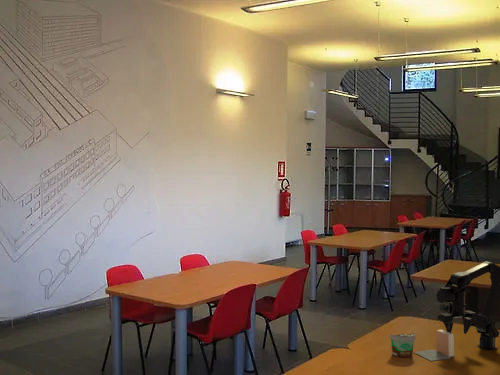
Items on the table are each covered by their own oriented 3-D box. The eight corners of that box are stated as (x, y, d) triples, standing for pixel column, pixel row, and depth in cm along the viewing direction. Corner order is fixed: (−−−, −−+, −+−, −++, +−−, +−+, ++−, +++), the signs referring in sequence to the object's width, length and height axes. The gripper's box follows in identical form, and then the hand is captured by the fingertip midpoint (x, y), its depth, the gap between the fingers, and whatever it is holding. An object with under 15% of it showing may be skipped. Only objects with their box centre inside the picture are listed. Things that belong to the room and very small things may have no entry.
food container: (396, 360, 241) (396, 337, 241) (389, 355, 247) (389, 333, 247) (420, 357, 245) (421, 335, 244) (413, 353, 250) (413, 331, 250)
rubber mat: (432, 350, 255) (432, 349, 255) (450, 358, 244) (450, 357, 244) (413, 352, 251) (413, 352, 251) (430, 361, 240) (430, 360, 240)
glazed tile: (441, 350, 254) (441, 329, 254) (453, 355, 247) (453, 334, 246) (436, 351, 253) (436, 330, 253) (448, 357, 246) (448, 335, 245)
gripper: (461, 296, 263) (460, 328, 263) (430, 298, 256) (429, 331, 257) (478, 301, 252) (477, 334, 253) (446, 304, 246) (445, 338, 246)
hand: (457, 334), depth 252 cm, fingers open, 9 cm apart
